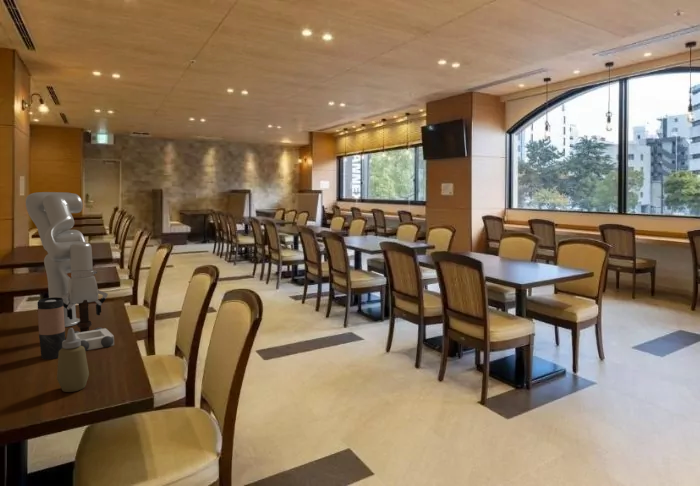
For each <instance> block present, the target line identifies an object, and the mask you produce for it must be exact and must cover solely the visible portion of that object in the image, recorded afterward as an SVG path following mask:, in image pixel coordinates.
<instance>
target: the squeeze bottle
mask: <svg viewBox="0 0 700 486" xmlns="http://www.w3.org/2000/svg"><path fill="white" fill-rule="evenodd" d="M74 331H75V330H74V328H73V327H69V328H68V330H67V334H66V338H65V340H64V341H63V342H62V347H63V348H62V349H61V350H60V351H59V356H58V358H57V372H56V373H57V374H56V380H57V382H58V384H59V387H60V388H61V391H62V392H66V393H72V392H73V393H74V392H78V391H80V390H83V389H84V388H85V387H86V386H87V381H88V379H89V376H90V372H89V365H88V359H87V354H86V353H87V352H86V351H85V348H84V347H83V346H81V340H80V339H76V336H75V333H74Z"/></svg>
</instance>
